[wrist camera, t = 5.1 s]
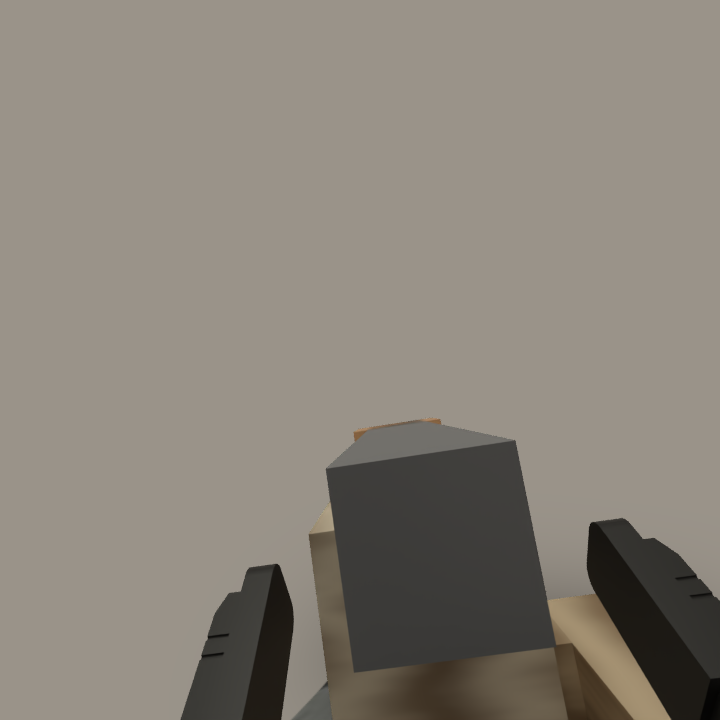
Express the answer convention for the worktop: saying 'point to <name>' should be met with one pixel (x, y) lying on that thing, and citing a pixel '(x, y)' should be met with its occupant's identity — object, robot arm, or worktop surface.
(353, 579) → the grey and tan bar
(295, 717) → the worktop surface
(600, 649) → the stand
